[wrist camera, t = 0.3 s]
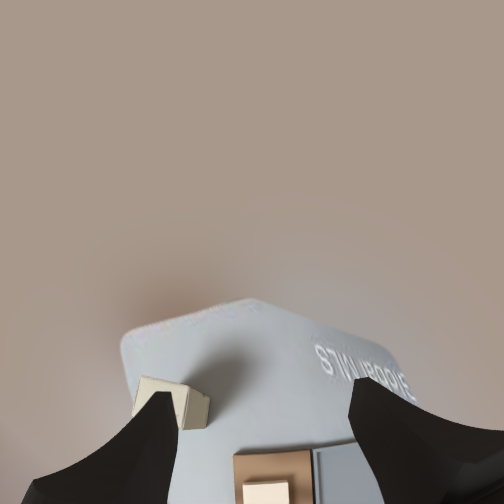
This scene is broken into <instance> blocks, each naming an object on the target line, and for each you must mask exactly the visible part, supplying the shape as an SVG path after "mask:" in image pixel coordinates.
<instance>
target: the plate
mask: <svg viewBox="0 0 504 504" xmlns="http://www.w3.org/2000/svg"><path fill="white" fill-rule="evenodd" d="M233 467H234V484H235V500H236V504H244V500H243V482H262V481H276V480H287V482H288V492H289V504H313V496H312V478H311V462H310V450H308V449H305V450H296V451H286V452H274V453H259V454H234V455H233Z"/></svg>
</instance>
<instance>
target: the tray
mask: <svg viewBox="0 0 504 504" xmlns="http://www.w3.org/2000/svg"><path fill="white" fill-rule="evenodd" d="M311 457H312V473H313V490H314V504H384V500H383V497H382V494H381V492H380V489H379V486H378V483H377V480H376V478H375V476H374V474H373V472H372V470H371V468H370V466H369V464H368V462H367V460H366V458H365V456H364V454H363V452H362V450H361V448H360V446H359V444H358V442H351V443H346V444H340V445H334V446H327V447H320V448H313V449H311Z"/></svg>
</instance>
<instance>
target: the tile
mask: <svg viewBox="0 0 504 504" xmlns="http://www.w3.org/2000/svg"><path fill="white" fill-rule="evenodd" d="M243 500H244V504H289V492H288V482H287V480H276V481H262V482H243Z"/></svg>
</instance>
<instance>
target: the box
mask: <svg viewBox="0 0 504 504" xmlns="http://www.w3.org/2000/svg"><path fill="white" fill-rule="evenodd" d="M156 391H171V393H172V398H173V404H174V409H175V414H176V419H177V424H178V429H179V430H190V429H204V428H206V423H207V417H208V411H209V404H210V397H208V396H206V395H204V394H202V393H200V392H198V391H197V390H195V389H193V388H191V387H189V386H187V385H184V384H180V383H175V382H171V381H166V380H162V379H157V378H152V377H147V376H140V379H139V383H138V387H137V391H136V396H135V400H134V405H133V411H132V417H134V416H135V415H136V414H137V413H138V412H139V411H140V409H141V408H142V407H143V406H144V405H145V403H146V402H147V401H148V400H149V398H150V397H151V396H152V395H153V394H154V393H155V392H156Z"/></svg>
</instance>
